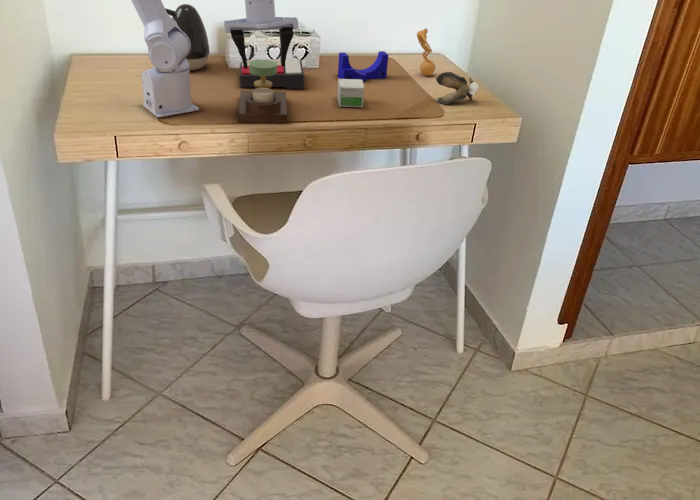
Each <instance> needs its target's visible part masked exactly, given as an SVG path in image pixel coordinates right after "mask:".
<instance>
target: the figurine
mask: <svg viewBox="0 0 700 500" xmlns="http://www.w3.org/2000/svg"><path fill="white" fill-rule="evenodd" d="M428 33H429V32H428V28H424V29H422V30H418V31H417V32H416V38H417V41H418V43H419V45H420V47H421V48H422V49H423V50H424V51H422V58H423V61H422V62H421V63H420V65H419V71H420V73H421V74H422V75H423V76H425V77H427V76H428V77H429V76H431V75H433V74H434V73H435V71H436V65H435V62H434V61H433V60H431V59H429V58H428V56H429V55H430V54H433V49H432V48H431V46H430V44H429V43H428V41H427V37H428V36H427V34H428Z"/></svg>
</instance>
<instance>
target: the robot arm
mask: <svg viewBox="0 0 700 500" xmlns="http://www.w3.org/2000/svg"><path fill="white" fill-rule="evenodd" d="M130 1H131V3H132V4H133V7H134V9H135V11H136V13H137V15H138V17H139V20H140V21H141V22H142V25H143V27H144V28H143V30H144V31H143V36H144V37H143V38H144V42H145V43H146V46H147V51H148V52H147V53H148V59H149V61H150V63H151V64H152V66H153V67H151V68H149V69H146V70H143V71H142V73H141V86H142V88H141V89H142V97H143V103H142V106H143V107H144V108H145V109H146V110H148V112H150V113H151V114H153V115H154V116H155V117H156V118H164V117H169V116H174V115H175V116H176V115H182V114H187V113H191V112H197V111H200V107H198V106H197V105H196V104H194V103H193V102H192V91H191V89H192V88H191V73H190V71H189V63H188V61H187V59H186V56H187V55H188V54H189V52H190V49H191V43H190V40H189V38H188V36H187V35H186V34H185V33H184V32H183V31H182V30H181V29H180V28H179V27H178V25H177V23H176V21H175V20H174V19H172V16H170V15H168V14H167V12H166V9H167V8H166V7H165V5H164V3H163V1H162V0H130ZM244 4H245V5H244V6H245V7H244V8H245V17H246V18H238V19H232V20H224V21H223V26H224V33H225V34H230V37H231V39H232V41H233V43H234V45H235V46H236V48H237V50H238V53H239V55H240V58H241V60H242V61H243V66H244V69H248V67H247V60H248V59H247V55H246V43H245V36H244V35H245V34H244V32H255V31H273V30H274V31H275V30H276V31H277V30H278V34H279V44H280V46H279V47H280V53H279V54H280V58H279V59H281V65H282V66H285V62H286V60H287V56H288V52H289V47H290V45H291V42H292V40H293V38H294V33H295V32H294V30H299V19H298V17H297V16H295V17H294V16H291V17H289V16H276V8H275V7H276V6H275V0H244ZM165 8H166V9H165ZM242 61H241V62H242Z"/></svg>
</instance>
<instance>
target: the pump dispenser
mask: <svg viewBox="0 0 700 500" xmlns="http://www.w3.org/2000/svg"><path fill="white" fill-rule="evenodd" d="M165 9H166V12H167V14H168V15H169V16H170V17H171V18H172V19H174V20H175V21H176V23H177V25H178V27H179V28H180V29H181V30H182V31H183V32H184V33H185V34H186V35H187V36H188V38H189V40H190V43H191V49H190V52H189V54H188V55H187V56H186V59H187V61H188V63H189V72H190V71H197V70H200V69H201V68H203V67H204V66H205V65H206V63H207V62H208V59H209V56H210V54H211V51H210V49H211V48H210V43H209V38H208V34H207V30H206V27H205V25H204V21H203V19H202V17H201V15H200V13H199V11H198V10H197V9H196V7H195V6H193V5H192V4H189V3H182V4H180V5H179V6H178V7H176V9H175V10H173V9H169V8H166V7H165Z"/></svg>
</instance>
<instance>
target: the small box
mask: <svg viewBox="0 0 700 500" xmlns="http://www.w3.org/2000/svg"><path fill="white" fill-rule="evenodd" d="M336 95H337V96H336V97H337V98H336V99H337V104H338V108H343V107H344V108H360V109H361V108H364V101H365V100H364V98H365V85H364V81H363V80H360V79H340V78H338V79H337V94H336Z"/></svg>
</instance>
